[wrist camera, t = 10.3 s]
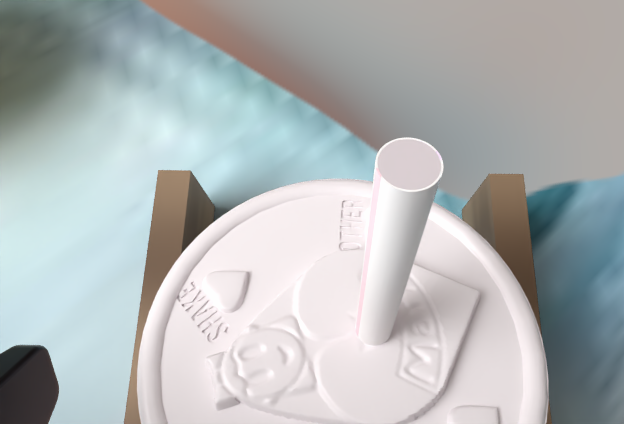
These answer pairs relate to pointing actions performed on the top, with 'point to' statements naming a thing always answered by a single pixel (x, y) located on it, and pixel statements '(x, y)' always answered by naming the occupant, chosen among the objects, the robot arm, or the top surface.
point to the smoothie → (343, 312)
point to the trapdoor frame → (200, 214)
